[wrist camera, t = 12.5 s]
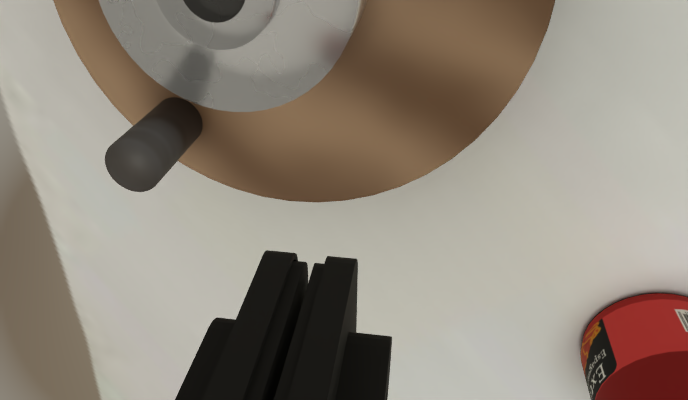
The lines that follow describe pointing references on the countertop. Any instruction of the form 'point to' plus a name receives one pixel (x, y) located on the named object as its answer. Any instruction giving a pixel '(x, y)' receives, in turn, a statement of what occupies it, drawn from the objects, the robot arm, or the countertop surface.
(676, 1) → the countertop surface
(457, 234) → the countertop surface
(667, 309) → the canned food
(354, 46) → the turntable
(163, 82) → the cover
